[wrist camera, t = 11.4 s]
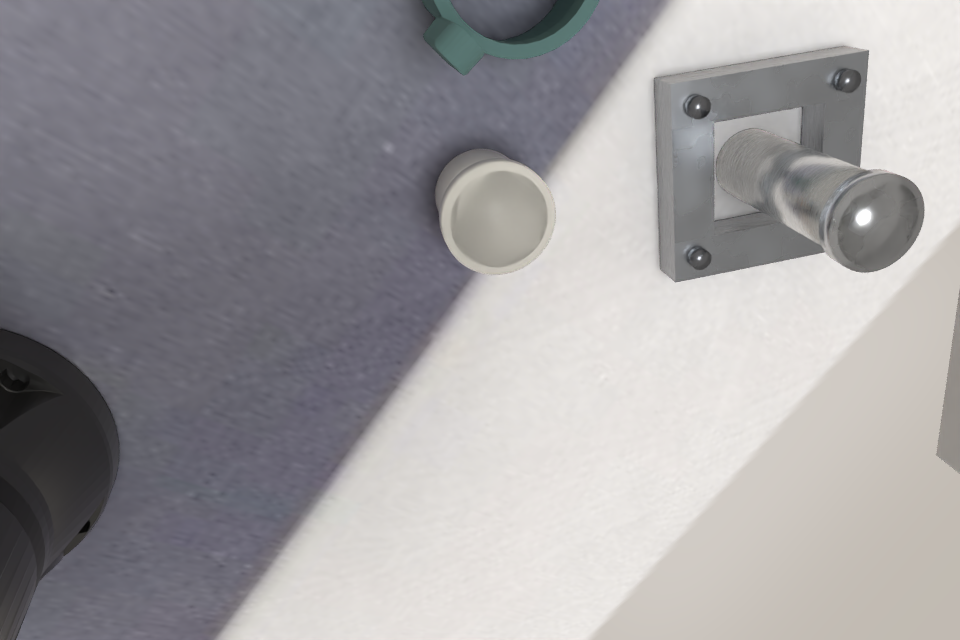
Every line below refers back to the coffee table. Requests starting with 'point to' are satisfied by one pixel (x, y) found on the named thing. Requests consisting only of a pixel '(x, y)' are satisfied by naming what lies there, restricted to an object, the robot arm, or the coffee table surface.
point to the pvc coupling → (493, 211)
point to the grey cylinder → (824, 198)
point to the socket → (690, 152)
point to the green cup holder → (469, 46)
